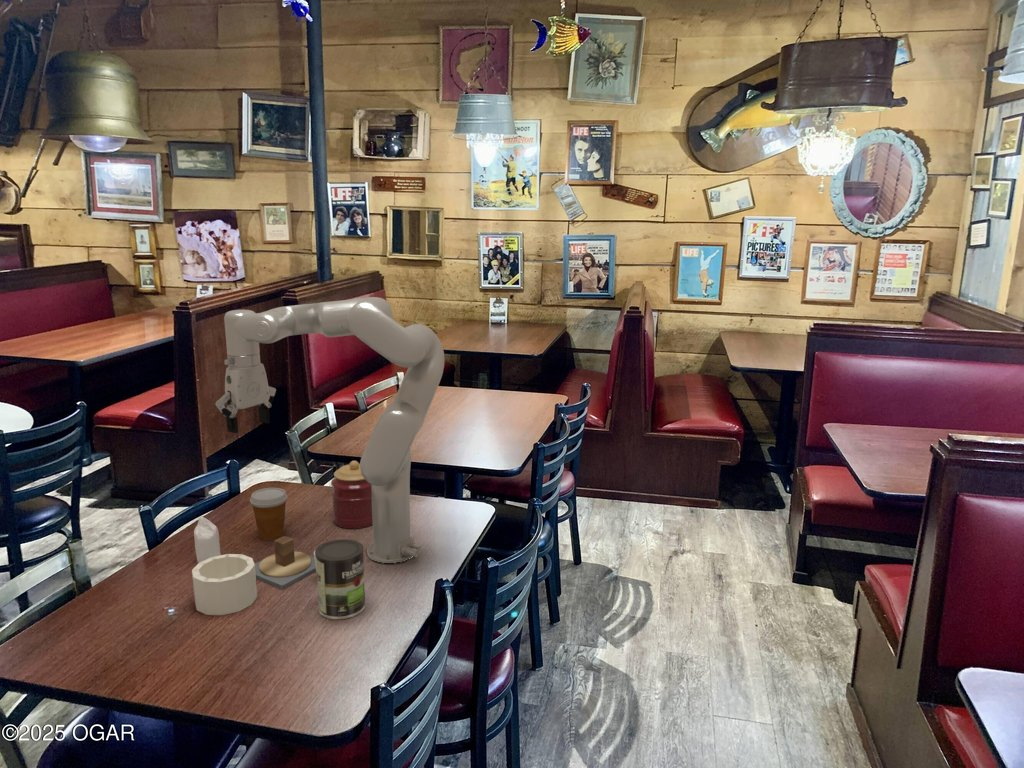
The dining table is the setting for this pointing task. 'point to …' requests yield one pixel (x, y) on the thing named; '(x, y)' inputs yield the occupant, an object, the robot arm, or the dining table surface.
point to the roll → (206, 540)
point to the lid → (284, 560)
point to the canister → (351, 497)
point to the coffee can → (340, 579)
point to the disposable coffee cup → (269, 512)
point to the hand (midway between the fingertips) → (249, 427)
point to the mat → (284, 581)
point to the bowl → (224, 584)
